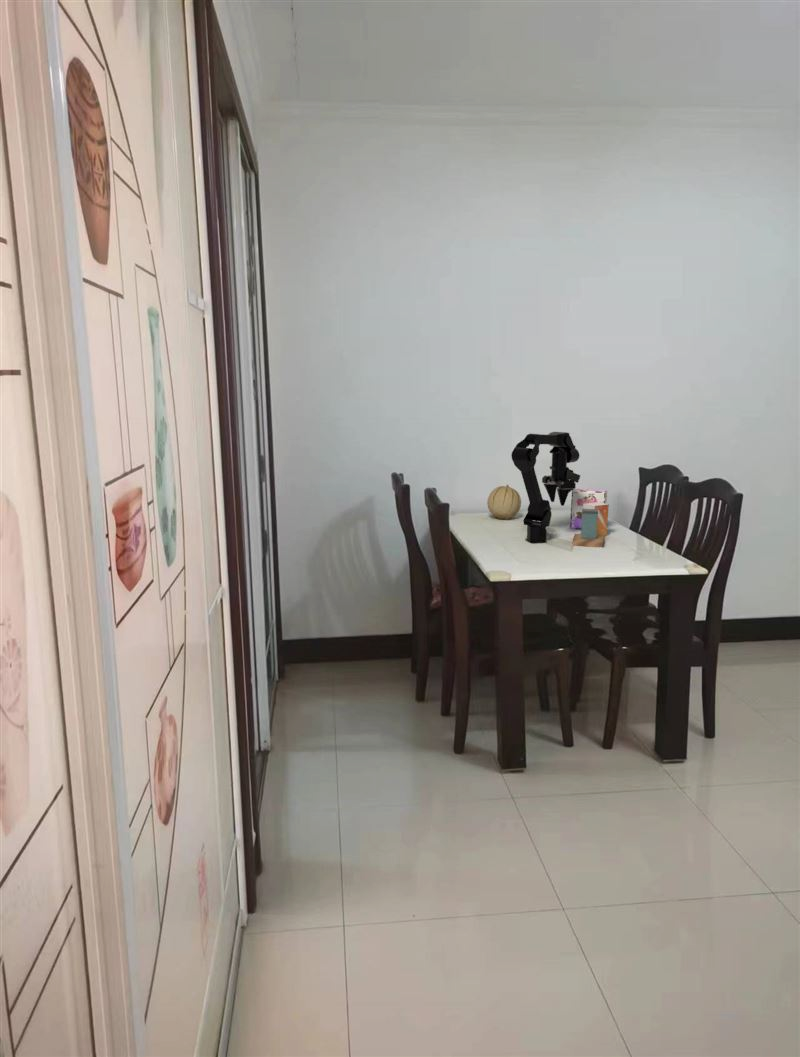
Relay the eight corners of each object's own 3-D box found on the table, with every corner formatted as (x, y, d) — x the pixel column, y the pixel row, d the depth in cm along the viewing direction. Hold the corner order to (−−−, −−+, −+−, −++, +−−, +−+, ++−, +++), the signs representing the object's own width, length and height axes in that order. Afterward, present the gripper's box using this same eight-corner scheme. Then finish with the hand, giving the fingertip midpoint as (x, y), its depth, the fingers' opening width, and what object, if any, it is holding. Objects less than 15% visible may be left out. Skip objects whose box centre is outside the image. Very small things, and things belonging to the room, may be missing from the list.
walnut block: (572, 547, 299) (572, 539, 298) (574, 541, 309) (575, 533, 308) (602, 549, 295) (602, 541, 295) (603, 543, 306) (604, 535, 305)
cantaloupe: (485, 520, 347) (486, 486, 344) (488, 515, 361) (489, 482, 358) (519, 522, 344) (520, 488, 341) (521, 516, 358) (522, 483, 355)
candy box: (569, 528, 331) (571, 489, 327) (571, 526, 336) (573, 487, 333) (603, 531, 326) (605, 491, 322) (605, 528, 331) (607, 489, 328)
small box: (593, 538, 312) (594, 505, 309) (581, 535, 317) (582, 503, 314) (607, 536, 316) (609, 503, 314) (595, 533, 321) (597, 501, 319)
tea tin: (581, 538, 299) (582, 511, 297) (580, 535, 305) (581, 508, 303) (596, 539, 298) (598, 511, 296) (595, 536, 304) (597, 509, 302)
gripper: (589, 466, 303) (587, 506, 306) (567, 461, 321) (566, 499, 324) (562, 467, 301) (560, 507, 304) (542, 461, 319) (540, 500, 322)
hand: (557, 503), depth 313 cm, fingers open, 9 cm apart
